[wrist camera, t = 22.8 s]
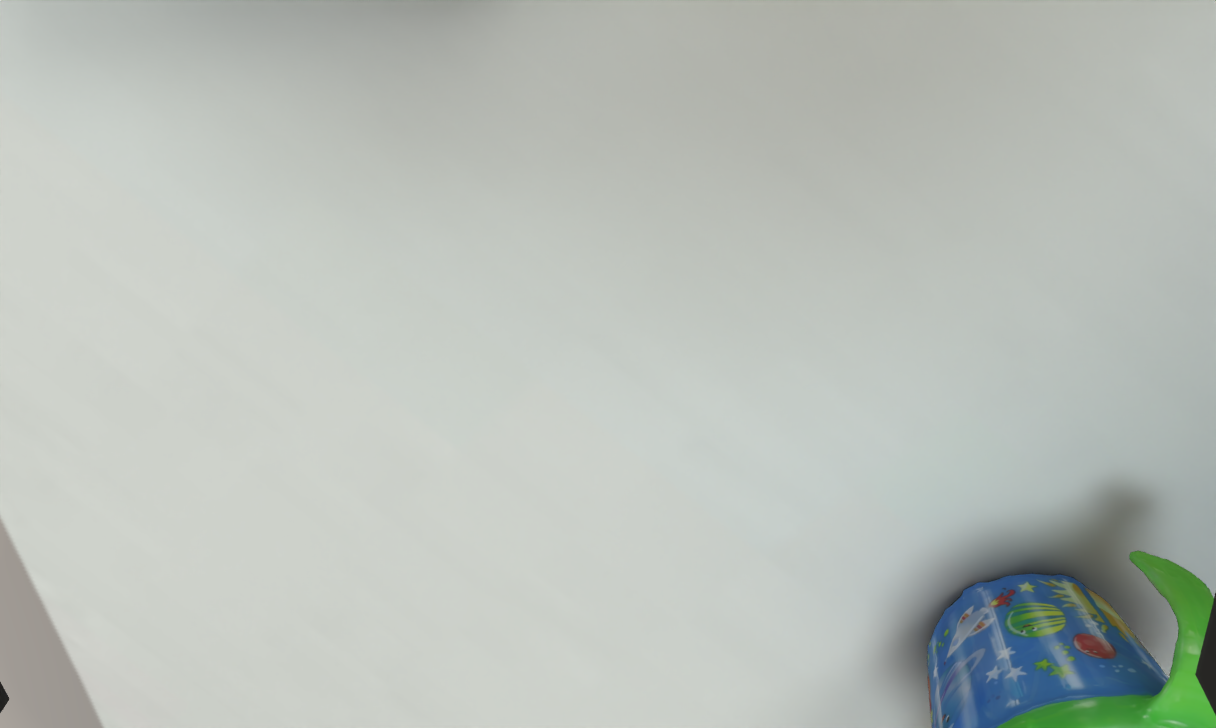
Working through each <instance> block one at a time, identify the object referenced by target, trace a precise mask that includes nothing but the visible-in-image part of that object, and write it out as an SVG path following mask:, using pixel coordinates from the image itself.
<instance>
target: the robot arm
mask: <svg viewBox="0 0 1216 728" xmlns="http://www.w3.org/2000/svg"><path fill="white" fill-rule="evenodd" d="M1195 675H1196V677H1197V679H1198V681H1199V683H1200V685H1201V687H1202V689H1203V691H1204V693H1205V695H1206V697H1207V699H1208V701H1209V703H1210V705H1211V707H1212V709H1213V711H1214V713H1215V715H1216V593H1215V597H1214V601H1213V605H1212V609H1211V613H1210V617H1209V621H1208V625H1207V629H1206V633H1205V637H1204V641H1203V645H1202V649H1201V653H1200V657H1199V661H1198V665H1197V669H1196V673H1195ZM8 701H9V697H8V695H7V693H6V692H5V690H4V688H3V686H2V684H1V682H0V713H1V711H2V710H3V708H4V707H5V705H6V704H7V702H8Z"/></svg>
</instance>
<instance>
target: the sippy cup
mask: <svg viewBox="0 0 1216 728" xmlns="http://www.w3.org/2000/svg"><path fill="white" fill-rule="evenodd" d="M1129 556H1130V560H1131V561H1132V562H1133V563H1134V564H1135V565H1136V566H1137V567H1138V568H1139V569H1140V570H1141V571H1142V572H1144V574H1145V575H1146V576H1147V578H1148V579H1149V580H1150V582H1151V583H1152V584H1153V585H1154V587H1155V588H1156V589H1157V590H1158V592H1159V593H1160V594H1161V595H1162V596H1163V597H1165V598H1166V599H1167V601H1168V602H1169V604H1170V606H1171V608H1172V610H1173V612H1174V614H1175V615H1176V618H1177V622H1178V628H1179V630H1178V640H1177V642H1176V646H1175V652H1174V657H1173V664H1172V668H1171V672H1170V678H1168V677H1167V675H1166V674H1165V673H1164V672H1163V670H1162V669H1161V668H1160V666H1159V665H1158V664H1157V662H1156V661H1155V660H1154V659H1153V657H1152V656H1151V655H1150V654H1149V653H1148V651H1147V650H1146V649H1145V648H1144V646H1143V645H1142V644H1141V643H1140V641H1139V640H1138V639H1137V638H1136V637H1135V635H1134V634H1133V633H1132V632H1131V630H1130V629H1129V628H1128V627H1127V625H1126V624H1125V623H1124V622H1123V620H1122V619H1121V618H1120V617H1119V615H1118V614H1117V613H1116V612H1115V610H1114V609H1113V608H1112V607H1111V606H1110V605H1109V604H1108V603H1107V602H1106V601H1105V600H1104V599H1103V598H1102V597H1100V596H1099V595H1097V594H1096V593H1094V592H1093V591H1091V590H1090V589H1088V588H1087V587H1085V586H1084V585H1083V584H1082V583H1080V582H1078V581H1077V580H1076V579H1074V578H1073V577H1069V576H1064V575H1061V574H1058V575H1055V576H1048V575H1042V574H1033V573H1032V574H1022V575H1014V576H1006V577H1002V578H1000V579H998V580H995V581H991V582H984V583H983V582H978V583H977V584H975V585H973V586H971V587H969V588H967V589H965V590H964V591H963V594H962V595H961V597H960V598H959V599H958V600H957V601H955V602H954V603H953V604H952V605H951V606H950V607H948V608H946V610H945V612H944V614H943V616H942V617H941V619H940V621H939V622H938V624H937V625H936V627H935V630H934V633H933V635H932V638H931V640H930V643H929V645H928V655H927V664H928V688H929V702H930V713H931V723H932V728H1216V715H1215V713H1214V711H1213V709H1212V707H1211V705H1210V703H1209V701H1208V699H1207V697H1206V695H1205V693H1204V691H1203V689H1202V687H1201V685H1200V683H1199V681H1198V679H1197V677H1196V675H1195V673H1196V669H1197V665H1198V661H1199V657H1200V653H1201V649H1202V645H1203V641H1204V637H1205V633H1206V629H1207V625H1208V621H1209V617H1210V613H1211V609H1212V605H1213V601H1214V598H1213V596H1212V594H1211V592H1210V590H1209V589H1208V588H1207V586H1206V584H1204V583H1203V582H1202V581H1201V580H1200V579H1199V578H1197V577H1196V576H1195V575H1194V574H1192V573H1191V572H1189V571H1188V570H1186V569H1184V568H1182V567H1181V566H1179V565H1177V564H1175V563H1173V562H1171V561H1169V560H1167V559H1162V558H1159V557H1156V556H1153V555H1150V554H1147V553H1145V552H1141V551H1135V552H1131V553H1130V555H1129Z"/></svg>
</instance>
